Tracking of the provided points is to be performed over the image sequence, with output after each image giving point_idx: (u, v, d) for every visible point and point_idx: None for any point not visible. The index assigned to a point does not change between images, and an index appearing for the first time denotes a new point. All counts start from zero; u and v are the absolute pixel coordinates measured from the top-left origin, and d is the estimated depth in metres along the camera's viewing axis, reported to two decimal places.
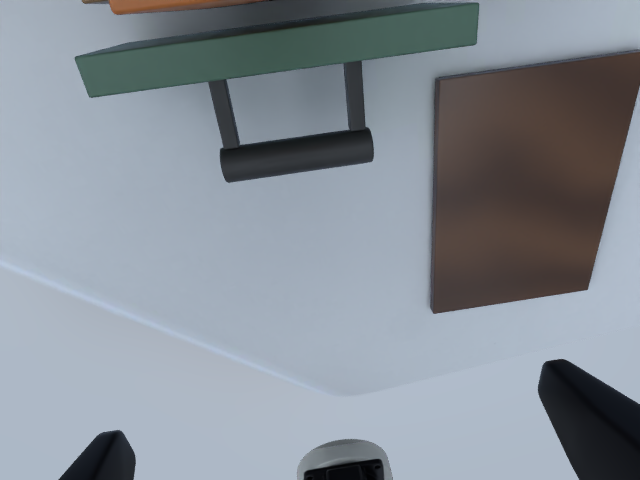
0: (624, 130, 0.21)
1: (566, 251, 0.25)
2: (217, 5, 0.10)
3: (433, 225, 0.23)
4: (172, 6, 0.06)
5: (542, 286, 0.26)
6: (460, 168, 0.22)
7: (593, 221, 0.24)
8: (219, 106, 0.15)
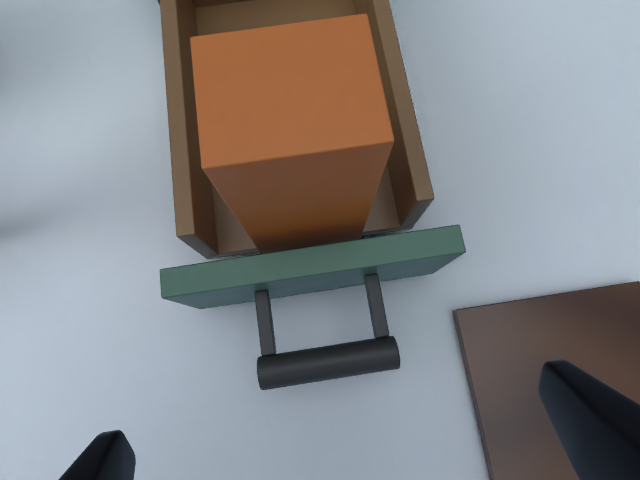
0: None
1: None
2: (266, 216, 0.15)
3: (489, 471, 0.20)
4: (236, 163, 0.11)
5: None
6: (499, 396, 0.21)
7: None
8: (261, 316, 0.18)
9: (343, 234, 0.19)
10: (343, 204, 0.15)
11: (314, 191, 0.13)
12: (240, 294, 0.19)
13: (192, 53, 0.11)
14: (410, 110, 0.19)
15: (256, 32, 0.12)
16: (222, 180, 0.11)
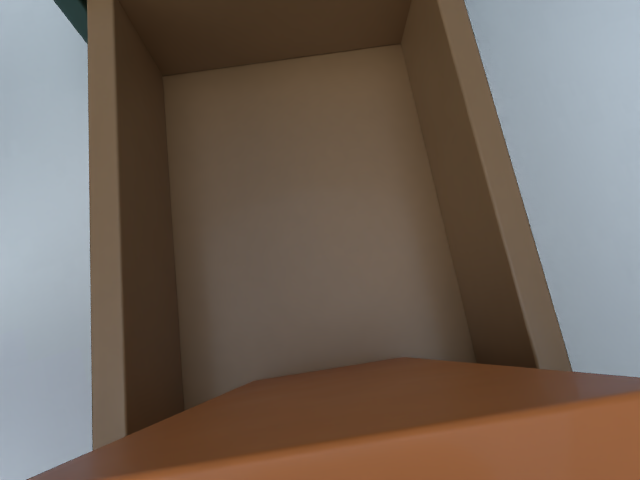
0: None
1: None
2: None
3: None
4: None
5: None
6: None
7: None
8: None
9: None
10: None
11: None
12: None
13: None
14: (547, 308, 0.10)
15: (254, 478, 0.03)
16: None
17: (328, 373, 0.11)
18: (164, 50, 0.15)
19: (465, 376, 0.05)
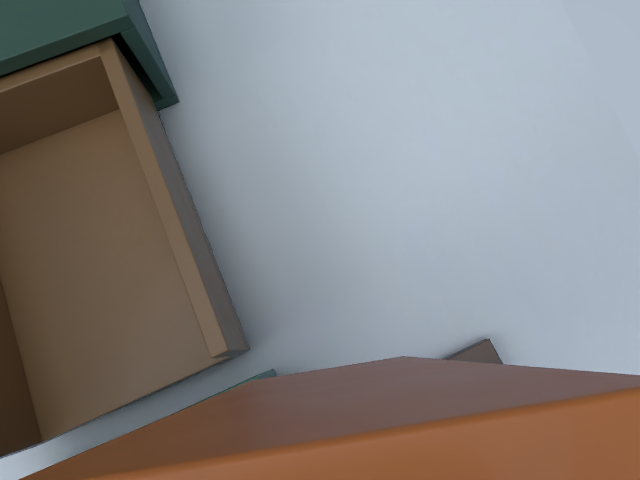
0: None
1: None
2: None
3: None
4: None
5: None
6: None
7: None
8: None
9: None
10: None
11: None
12: None
13: None
14: (188, 256, 0.17)
15: (251, 476, 0.03)
16: None
17: (327, 372, 0.11)
18: None
19: (463, 375, 0.05)
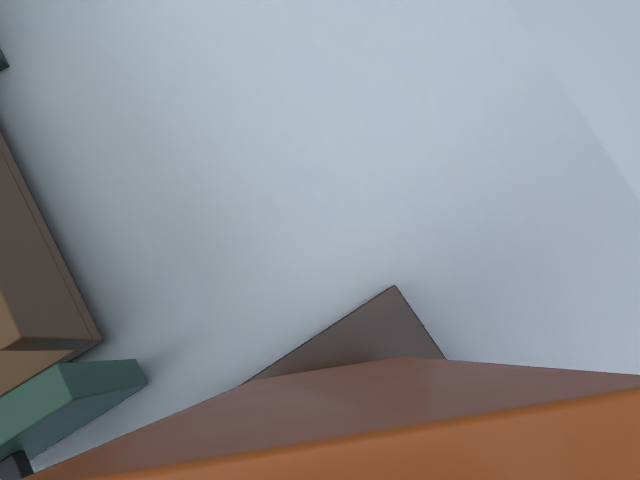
0: None
1: None
2: None
3: None
4: None
5: None
6: None
7: None
8: None
9: None
10: None
11: None
12: None
13: None
14: None
15: (253, 475, 0.03)
16: None
17: (328, 372, 0.11)
18: None
19: (465, 374, 0.05)
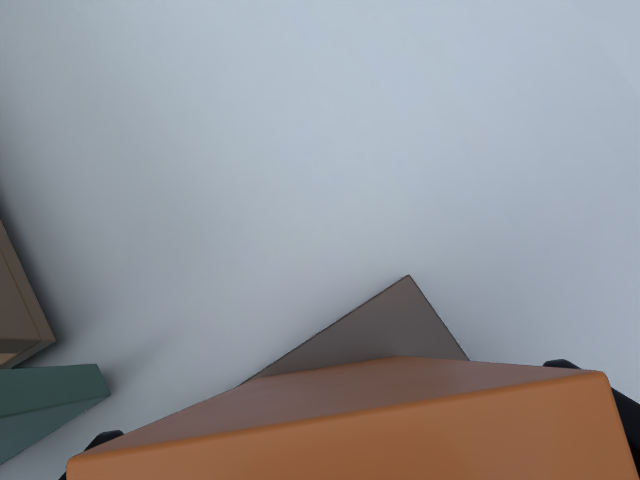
0: None
1: None
2: None
3: None
4: None
5: None
6: None
7: None
8: None
9: None
10: None
11: None
12: None
13: None
14: None
15: (271, 442, 0.04)
16: None
17: (328, 370, 0.12)
18: None
19: (443, 370, 0.06)
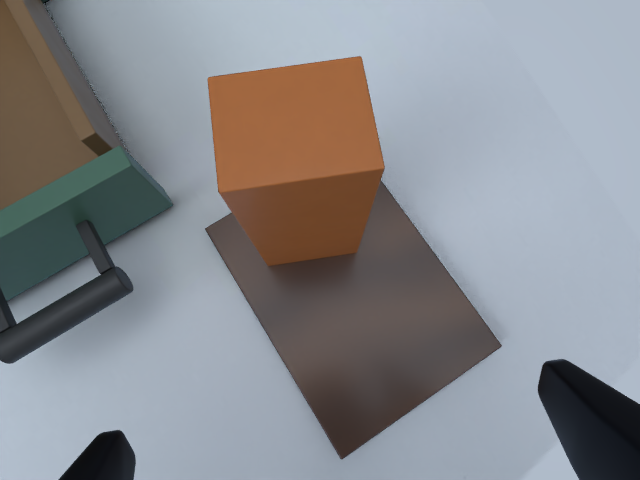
0: (385, 192, 0.24)
1: (433, 313, 0.22)
2: (272, 231, 0.17)
3: (277, 349, 0.22)
4: (248, 188, 0.12)
5: (444, 364, 0.21)
6: (264, 283, 0.23)
7: (432, 272, 0.23)
8: None
9: (342, 245, 0.21)
10: (341, 220, 0.17)
11: (316, 209, 0.15)
12: None
13: (209, 91, 0.13)
14: (54, 67, 0.20)
15: (265, 73, 0.13)
16: (235, 201, 0.13)
17: None
18: None
19: None
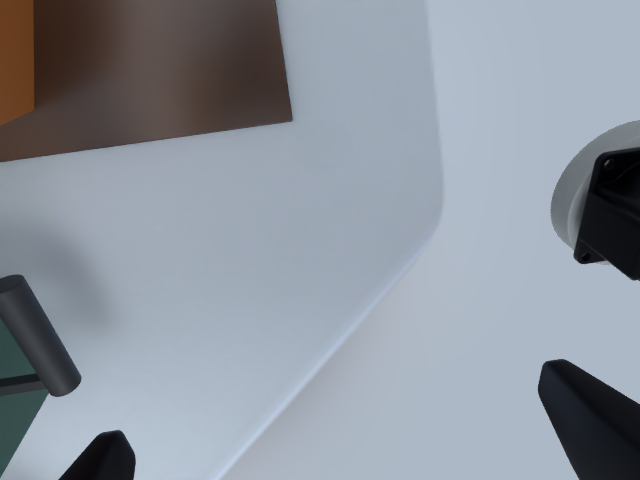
0: None
1: None
2: None
3: None
4: None
5: None
6: (59, 123, 0.17)
7: None
8: (8, 392, 0.19)
9: None
10: None
11: None
12: None
13: None
14: None
15: None
16: None
17: None
18: None
19: None
